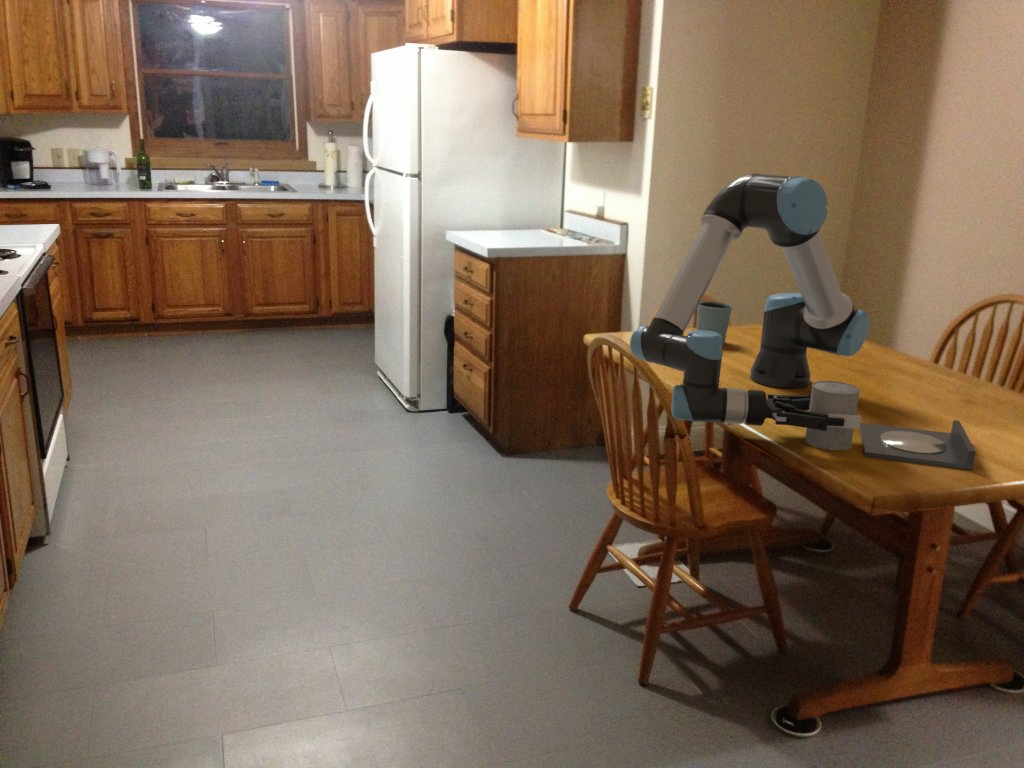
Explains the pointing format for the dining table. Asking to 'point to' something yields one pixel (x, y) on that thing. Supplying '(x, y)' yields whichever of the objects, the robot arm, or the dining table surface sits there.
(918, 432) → the plate
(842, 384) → the speckled tin can
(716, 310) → the blue grey cup
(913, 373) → the dining table surface
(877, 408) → the dining table surface
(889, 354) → the dining table surface
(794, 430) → the dining table surface
